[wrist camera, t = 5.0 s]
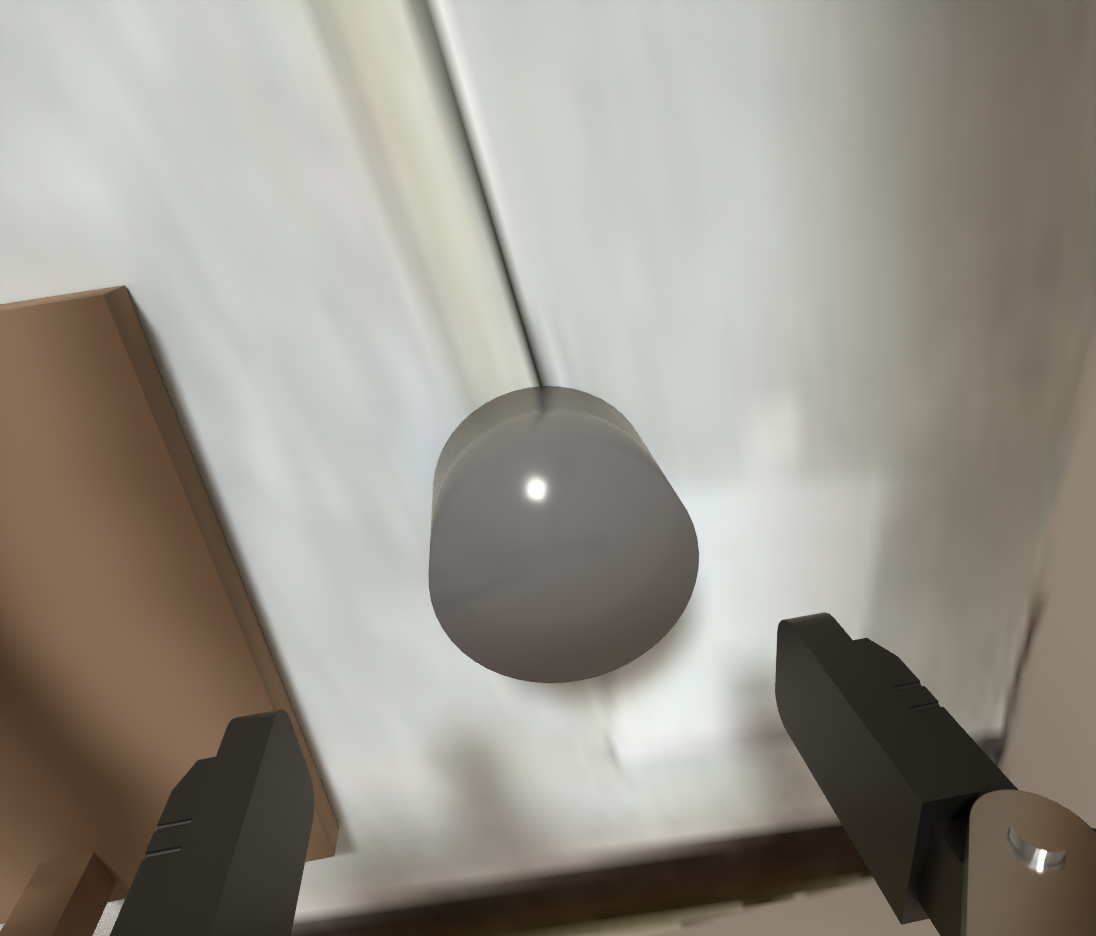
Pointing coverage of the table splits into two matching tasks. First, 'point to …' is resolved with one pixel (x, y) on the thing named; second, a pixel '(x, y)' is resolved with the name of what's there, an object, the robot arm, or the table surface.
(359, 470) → the table surface
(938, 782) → the robot arm
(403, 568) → the table surface
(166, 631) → the trapdoor stand
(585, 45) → the table surface
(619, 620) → the stubby grey cylinder
